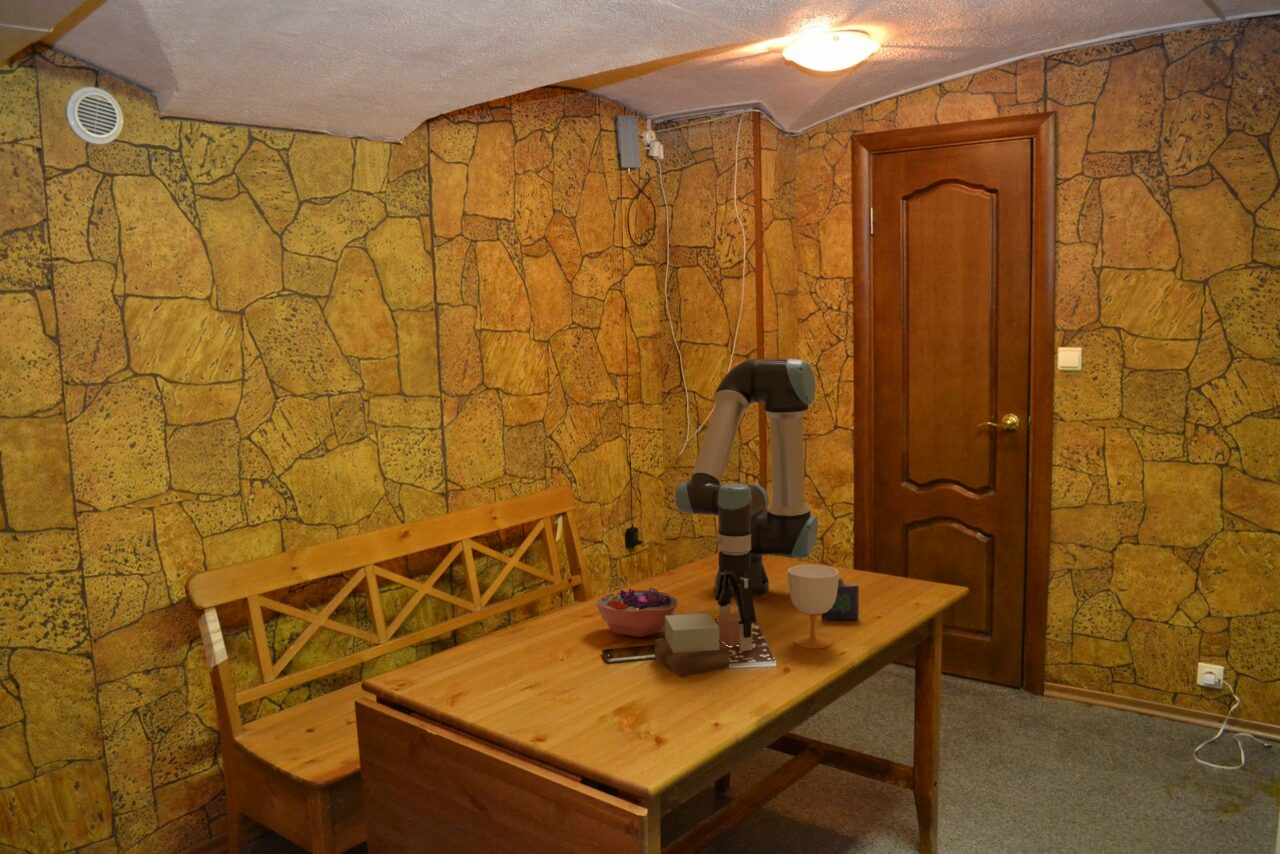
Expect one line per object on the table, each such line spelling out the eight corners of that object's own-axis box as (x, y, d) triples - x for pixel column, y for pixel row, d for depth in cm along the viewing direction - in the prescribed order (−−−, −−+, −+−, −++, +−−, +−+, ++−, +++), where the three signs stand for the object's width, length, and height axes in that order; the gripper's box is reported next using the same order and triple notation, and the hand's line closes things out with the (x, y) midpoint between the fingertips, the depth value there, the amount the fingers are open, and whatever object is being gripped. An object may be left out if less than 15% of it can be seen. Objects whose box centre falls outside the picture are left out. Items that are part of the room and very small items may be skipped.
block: (717, 640, 220) (717, 615, 219) (740, 636, 222) (740, 612, 221) (729, 648, 214) (729, 622, 213) (752, 644, 216) (752, 619, 215)
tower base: (654, 661, 207) (654, 639, 207) (701, 652, 213) (701, 631, 212) (680, 679, 197) (680, 656, 196) (729, 669, 202) (729, 647, 201)
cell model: (606, 620, 235) (605, 577, 234) (684, 624, 231) (683, 580, 230) (589, 643, 219) (587, 596, 217) (672, 647, 215) (672, 600, 213)
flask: (857, 617, 234) (857, 576, 233) (859, 621, 231) (860, 579, 230) (820, 617, 235) (820, 576, 233) (822, 621, 232) (822, 579, 230)
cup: (848, 641, 217) (848, 569, 215) (820, 654, 208) (821, 580, 207) (805, 630, 225) (805, 561, 223) (777, 643, 216) (777, 571, 215)
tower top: (665, 637, 208) (664, 615, 208) (708, 634, 210) (708, 613, 209) (673, 653, 198) (673, 630, 198) (719, 649, 200) (719, 627, 199)
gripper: (701, 540, 226) (702, 626, 228) (739, 565, 203) (739, 660, 205) (730, 538, 228) (730, 623, 230) (771, 562, 205) (771, 656, 207)
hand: (734, 641), depth 218 cm, fingers open, 12 cm apart
